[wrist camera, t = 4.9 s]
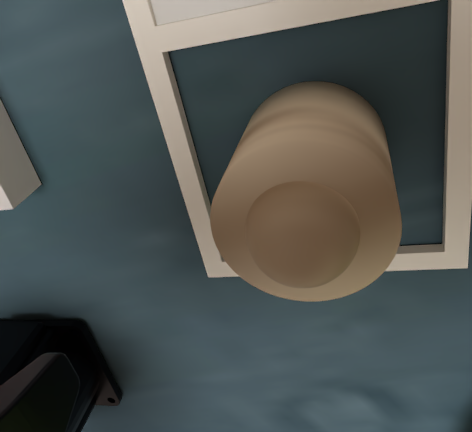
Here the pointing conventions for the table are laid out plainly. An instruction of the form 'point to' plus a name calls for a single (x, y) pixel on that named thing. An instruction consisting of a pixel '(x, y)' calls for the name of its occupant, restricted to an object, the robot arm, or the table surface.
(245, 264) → the tan lidded jar
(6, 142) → the dome base
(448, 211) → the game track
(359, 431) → the table surface
